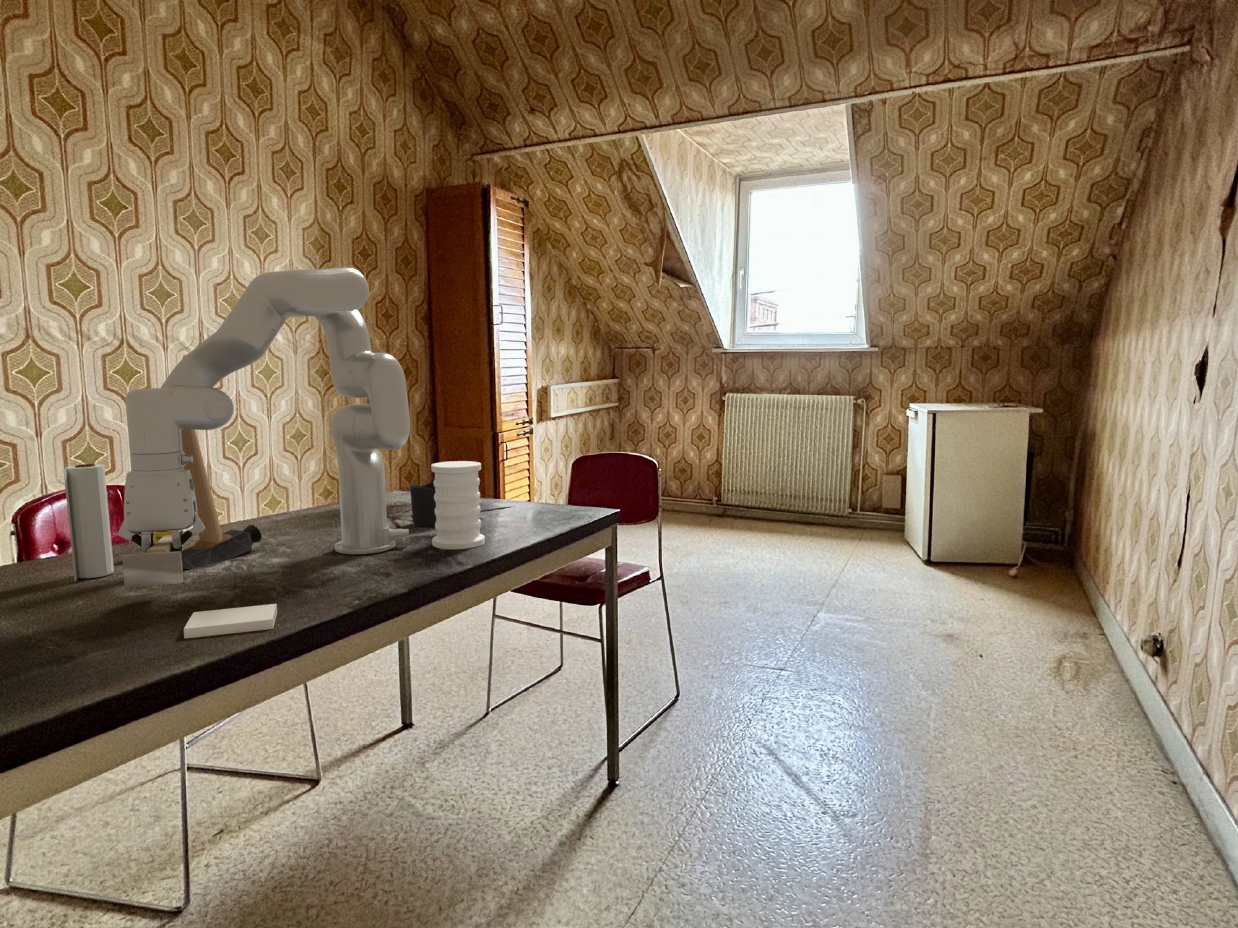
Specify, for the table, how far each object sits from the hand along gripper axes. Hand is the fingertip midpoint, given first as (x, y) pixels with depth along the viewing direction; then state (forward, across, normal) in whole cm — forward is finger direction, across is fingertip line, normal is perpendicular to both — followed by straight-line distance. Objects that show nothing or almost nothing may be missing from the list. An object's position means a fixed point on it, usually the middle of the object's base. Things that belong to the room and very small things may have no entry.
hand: (165, 569), depth 128 cm
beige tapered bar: (0, 0, 0) cm, 0 cm away
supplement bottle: (+6, +8, -39) cm, 40 cm away
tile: (+5, -12, +12) cm, 18 cm away
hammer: (+6, -2, -29) cm, 30 cm away
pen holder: (+5, -48, -51) cm, 71 cm away
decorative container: (+5, -52, -27) cm, 59 cm away
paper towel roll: (+6, +18, -24) cm, 31 cm away
